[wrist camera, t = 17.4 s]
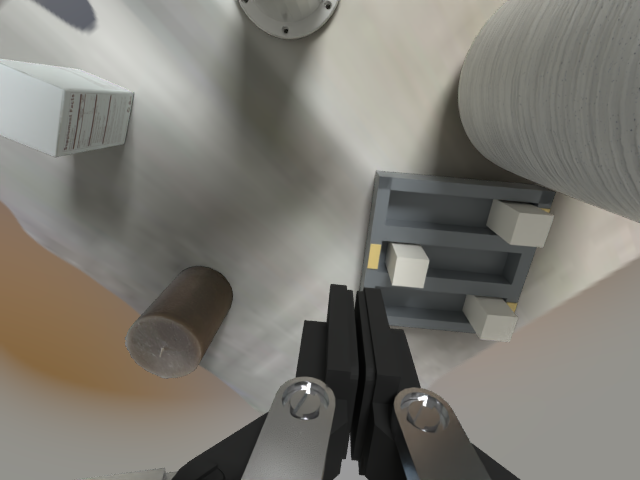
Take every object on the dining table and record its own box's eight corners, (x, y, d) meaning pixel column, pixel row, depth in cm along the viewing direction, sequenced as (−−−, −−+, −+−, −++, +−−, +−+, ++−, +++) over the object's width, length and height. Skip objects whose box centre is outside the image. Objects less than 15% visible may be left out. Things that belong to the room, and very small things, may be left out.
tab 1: (462, 310, 52) (480, 339, 46) (468, 287, 51) (487, 314, 44) (488, 312, 52) (509, 342, 46) (495, 290, 51) (518, 317, 44)
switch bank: (357, 307, 54) (358, 323, 50) (376, 170, 46) (380, 176, 42) (494, 320, 54) (506, 337, 50) (538, 184, 46) (557, 192, 42)
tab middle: (385, 261, 50) (392, 285, 43) (389, 236, 48) (397, 257, 42) (412, 264, 50) (423, 288, 43) (417, 239, 48) (429, 260, 42)
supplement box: (72, 123, 46) (-19, 129, 34) (80, 67, 43) (-16, 53, 31) (126, 146, 47) (54, 159, 35) (136, 92, 44) (63, 87, 32)
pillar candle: (230, 266, 53) (192, 324, 39) (235, 319, 56) (201, 389, 42) (169, 264, 53) (110, 320, 39) (178, 316, 57) (126, 385, 43)
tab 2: (485, 225, 47) (509, 244, 41) (493, 197, 46) (519, 212, 39) (514, 227, 47) (543, 247, 40) (523, 200, 45) (554, 215, 39)
